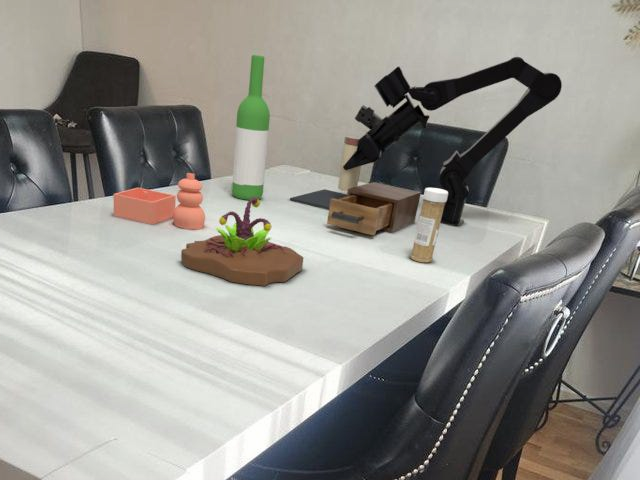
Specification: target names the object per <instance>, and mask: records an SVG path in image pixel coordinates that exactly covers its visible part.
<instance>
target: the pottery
mask: <svg viewBox="0 0 640 480" xmlns="http://www.w3.org/2000/svg"><path fill="white" fill-rule="evenodd" d="M195 176H196V173H192V172H187V173H186V177H185V178H182V179H180V180H179V181H178V183H177V186H178V188H179V190H178V191H177V193H176V195H175V194H170V193H166V192H161V191H157V190H152V189H147V188H142V187H134V188H130V189H126V190H123V191H120V192H116V193H113V195H112V198H113V199H112V200H113V216H114V217H117V218H122V219H126V220H131V221H135V222H140V223H144V224H149V225H156V224H159V223H162V222H163V221H166V220H170V219H173V223H174V224H173V225H174V226H175V227H177V228H180V229H184V230H202V229H203V228H204V225H205V222H206V214H205V211H204V209H203V208H202V207H201V206H200V205H201V204H202V202H203V201H204V195H203V194H202V192H201V191H202V190H203V184H202V183H201V181H200V180H198V179H196V177H195ZM176 199H177V202H178V203H179V204H177V206H176Z"/></svg>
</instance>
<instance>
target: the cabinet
mask: <svg viewBox="0 0 640 480" xmlns="http://www.w3.org/2000/svg"><path fill="white" fill-rule="evenodd" d="M346 194H347V196H351V195H354V194H356V195H361V196H365V197H369V198H374V199H378V200H383V201H387V202H391V203H394V208H393V213H392V218H391V223H390V225H389V226H387V227H384V228H382V229H380V230H379V231H383V232H386V233H391V234H392V233H394V232H398V231H399V230H402V229H403V228H405V227H408V226H410V225H413V224H414V223H415V221H416V218H417V212H418V208H419V203H420V200H421V194H422V192H421V191H416V190H411V189H407V188H403V187H398V186H393V185H389V184H384V183H380V182H377V181H372V182H368V183H364V184H361V185H358V186H357V187H353V188H350V189H348V191H347V192H346Z"/></svg>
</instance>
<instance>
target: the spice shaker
mask: <svg viewBox="0 0 640 480" xmlns="http://www.w3.org/2000/svg"><path fill="white" fill-rule="evenodd" d="M361 137H362V136H355V135H345V136H344V142H343V143H344V144H343V149H342V150H343V151H342V155H341V156H342V157H341V164H340V170H339V171H340V172H339V177H338V184H337V190H340V191H345V192H348V189H350V188H353V187H357V186H359V181H360V175H361V169H362V166H359V167H355V168H352V169H349V170H345V169H344V168H343V166H344V165H345V164H346V162H347V161H348V160H349V159H350V158H351V157H352V155H353V154H354V153H355V152H356V151H357V147H358V140H359V139H360V138H361Z"/></svg>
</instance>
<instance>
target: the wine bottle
mask: <svg viewBox="0 0 640 480" xmlns="http://www.w3.org/2000/svg"><path fill="white" fill-rule="evenodd" d="M264 69H265V55H258V54H257V55H256V54H252V55H251V60H250V73H249V84H248V85H249V86H248V94H247V96H246V97H245V98H244V99H242V101H241V102H240V104H239V106H238V109H237V111H236V112H237V113H236V126H235V138H234V152H233V153H234V155H233V170H232V184H231V192H232V196H233V197H235V198H237V199H239V200H245V201H249V200H250V198H252V197H256V198H258V199H259V200H261V199H262V197H263V194H264V186H265V185H264V184H265V175H266V165H267V152H268V143H269V142H268V141H269V131H270V129H269V128H270V119H271V118H270V117H271V115H270V108H269V106H268V104H267V103H266V101H265V100H264V98H263V97H262V96H263V83H264Z"/></svg>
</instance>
